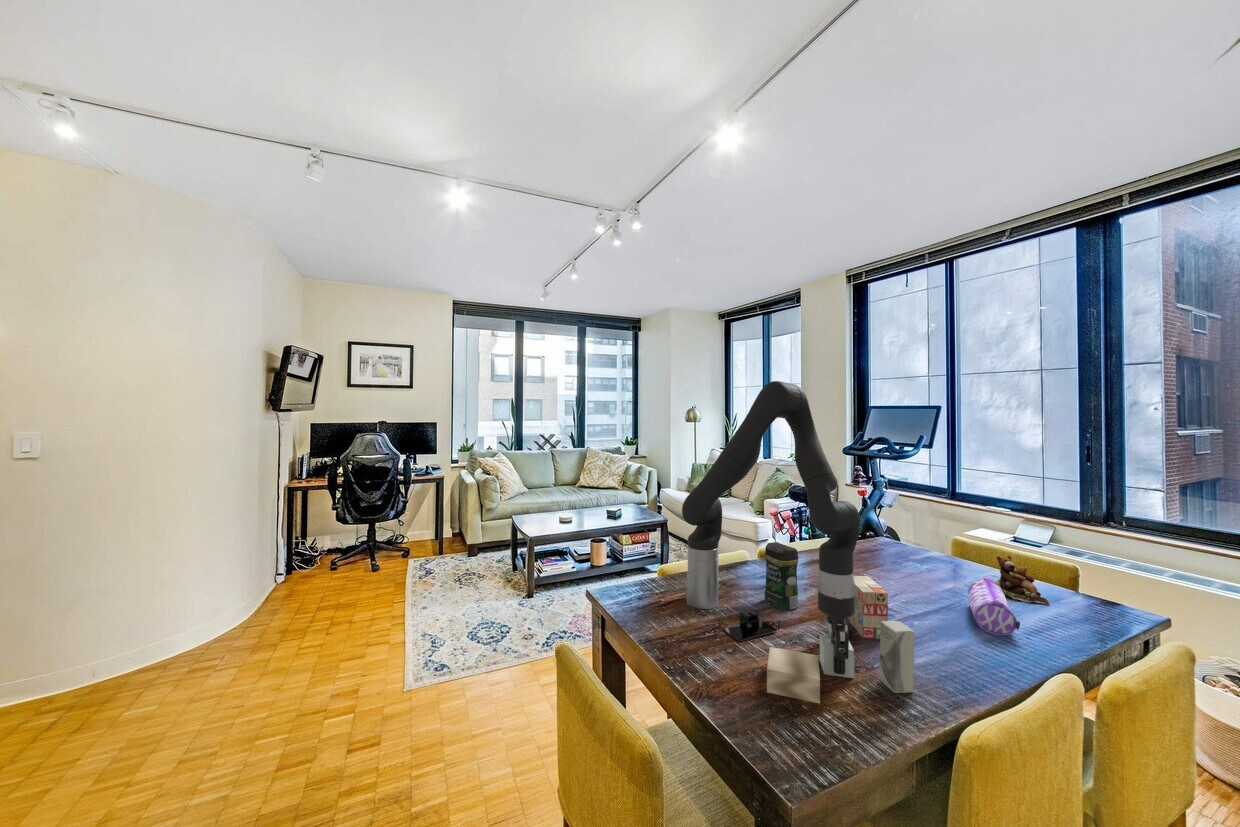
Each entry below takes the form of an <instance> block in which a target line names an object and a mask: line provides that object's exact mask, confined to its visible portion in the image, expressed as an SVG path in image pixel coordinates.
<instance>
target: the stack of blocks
mask: <svg viewBox="0 0 1240 827" xmlns="http://www.w3.org/2000/svg"><path fill="white" fill-rule="evenodd" d="M853 576H854V582H855V614H854V615H853V616H851V617H847V618H846V619H847V620H848V621H849V623H850V624H851V625H852V627H853V628H855V630H856V631H857V632H858V634H859V636H860V637H861V638H863V639H872V640H873V639H874V640H880V635H881V621H889V620H888V619H889V618H888V616H889V604H888V603H889V592H887V591H886V590H885V589H884V588H883V587H882V586H881V585H880V584H879V583H877V582H875V580H873V579H872V578H870V576H866V575H865V576H864V575H863V576H861V575H853Z"/></svg>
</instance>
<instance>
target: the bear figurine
mask: <svg viewBox="0 0 1240 827" xmlns="http://www.w3.org/2000/svg"><path fill="white" fill-rule="evenodd" d="M995 557H996V559H997V562H998V565H999V567H1000V570H999V573H1000V577H999V579H998V578H997V579H996V581H995V580H993V582H994V583H996V584H997V585H998V586H999V587H1000V588H1001V590H1002V592H1003V593H1004V595H1006V596H1008V597H1010V598H1011V599H1013V600H1019V601H1021V602H1025V603H1037V604H1038V603H1039V604H1043V605H1048V606H1049V605H1050V602H1049V601H1048V599H1047V598H1046V597H1042V596H1041V595H1042V594H1041V591H1038V588H1037V587H1036V585H1035V584H1034V583H1035V579H1034V577H1033V576H1031V575H1030V574H1029V575H1028V574H1027V572H1028V570H1027V567H1023V566H1019V565H1018V566H1016V565H1015V564H1014V562H1013V560H1012V556H1010V555H1007V557H1001V556H999V555H997V556H995Z"/></svg>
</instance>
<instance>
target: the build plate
mask: <svg viewBox="0 0 1240 827" xmlns="http://www.w3.org/2000/svg"><path fill="white" fill-rule="evenodd" d="M739 614H740V615H739V619H738V620H739V623H738V624H733V625H730V626H726V627H723V628H722V631H723V632H725V633H727V635H730V636H731V638H732V637H733V638H734V639H735V640H736V641H738V642H742V641H746V640H749V639H753V638H757V637H760V636H763V635H764V636H765V635H767V634H771V633H774V632H777V630H778V629H777V628H775V627H774V626H772V625H771V624H769V623H767V622H765V621H764V620H762V619H760V616H759V613H757V612H755V611H754V610H752V609H748V610H744V611H741V612H740V613H739Z"/></svg>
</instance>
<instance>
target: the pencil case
mask: <svg viewBox="0 0 1240 827" xmlns="http://www.w3.org/2000/svg"><path fill="white" fill-rule="evenodd" d="M993 581H994V579H993V578H992V577H987V576H986V577H985V576H983V579H975V580H973V581H972V582H971V583H970V585H969V586H968V589H967V591H968V592H967V594H968V604H969V605H968V606H969V608H970V610H971V613H972V615H973V618H974V620H975V622H976V623H977V625H978V626H979V628H980V629H982V630H983V631H985V632H987V633H988V634H991V635H994V634H995V636H1002V637H1003V636H1009V635H1011V634H1013V632H1015V630H1019V629H1020V626H1021V622H1020V621H1018V619H1017V617H1016V615H1015V614H1014V612H1013V611H1012V609H1011V608H1010V605H1009V602H1008V601H1007V599H1006V596H1005V594H1004V593H1003V592H1002V590H1001V588H1000V587H999V586H998V585H997V584H996V583H994V582H993Z"/></svg>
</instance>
